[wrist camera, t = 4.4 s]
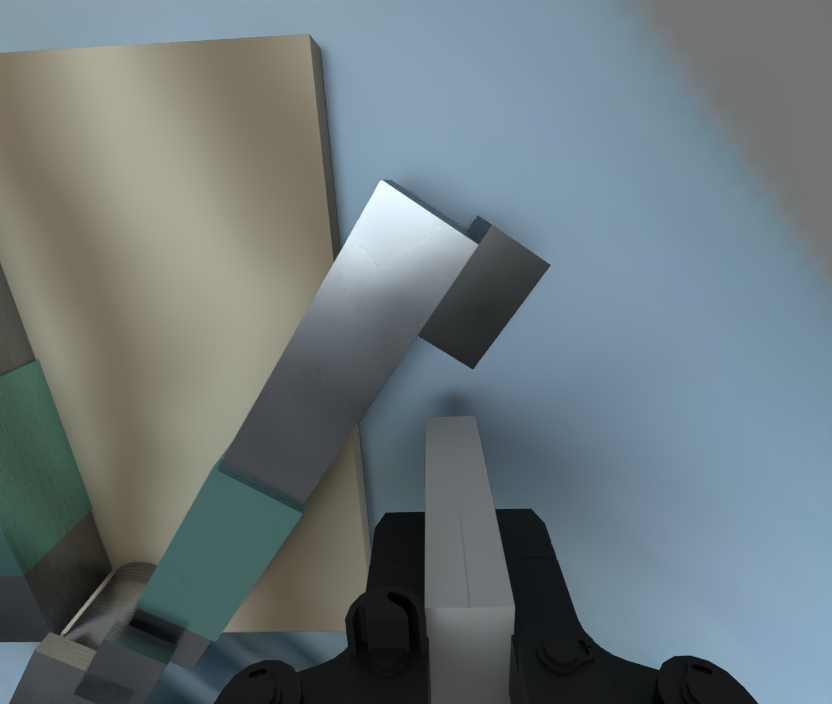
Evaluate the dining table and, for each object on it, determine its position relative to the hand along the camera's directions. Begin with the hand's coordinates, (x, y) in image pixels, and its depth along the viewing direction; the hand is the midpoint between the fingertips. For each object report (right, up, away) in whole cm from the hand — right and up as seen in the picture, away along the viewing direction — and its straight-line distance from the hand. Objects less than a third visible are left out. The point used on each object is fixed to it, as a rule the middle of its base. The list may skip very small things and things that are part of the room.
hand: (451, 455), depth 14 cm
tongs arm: (-6, 0, +2) cm, 6 cm away
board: (-12, +2, +3) cm, 12 cm away
